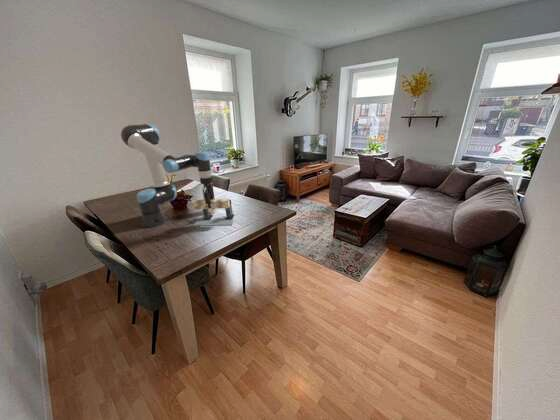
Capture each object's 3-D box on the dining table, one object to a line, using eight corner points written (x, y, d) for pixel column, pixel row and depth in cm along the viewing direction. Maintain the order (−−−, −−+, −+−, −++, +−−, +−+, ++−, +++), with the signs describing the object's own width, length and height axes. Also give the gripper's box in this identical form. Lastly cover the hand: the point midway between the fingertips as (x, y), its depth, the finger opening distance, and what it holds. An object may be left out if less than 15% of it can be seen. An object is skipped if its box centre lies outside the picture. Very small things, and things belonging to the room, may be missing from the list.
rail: (192, 209, 146) (191, 202, 144) (194, 207, 150) (193, 200, 148) (228, 208, 146) (227, 201, 144) (230, 205, 149) (229, 198, 147)
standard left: (203, 220, 158) (199, 204, 153) (206, 216, 164) (203, 200, 159) (210, 220, 158) (207, 203, 153) (212, 215, 164) (210, 200, 159)
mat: (193, 226, 150) (193, 225, 149) (197, 221, 156) (197, 221, 156) (231, 225, 149) (231, 224, 149) (233, 220, 155) (233, 219, 155)
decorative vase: (214, 214, 166) (209, 182, 156) (201, 214, 168) (195, 182, 158) (221, 209, 176) (216, 178, 166) (208, 208, 178) (203, 178, 168)
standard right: (225, 219, 157) (222, 203, 152) (227, 215, 164) (225, 199, 159) (232, 219, 157) (230, 203, 152) (234, 215, 164) (232, 199, 159)
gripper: (207, 180, 132) (213, 216, 141) (215, 173, 147) (220, 205, 156) (195, 180, 132) (202, 216, 141) (204, 173, 147) (210, 206, 157)
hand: (212, 210), depth 149 cm, fingers closed on rail, 4 cm apart
